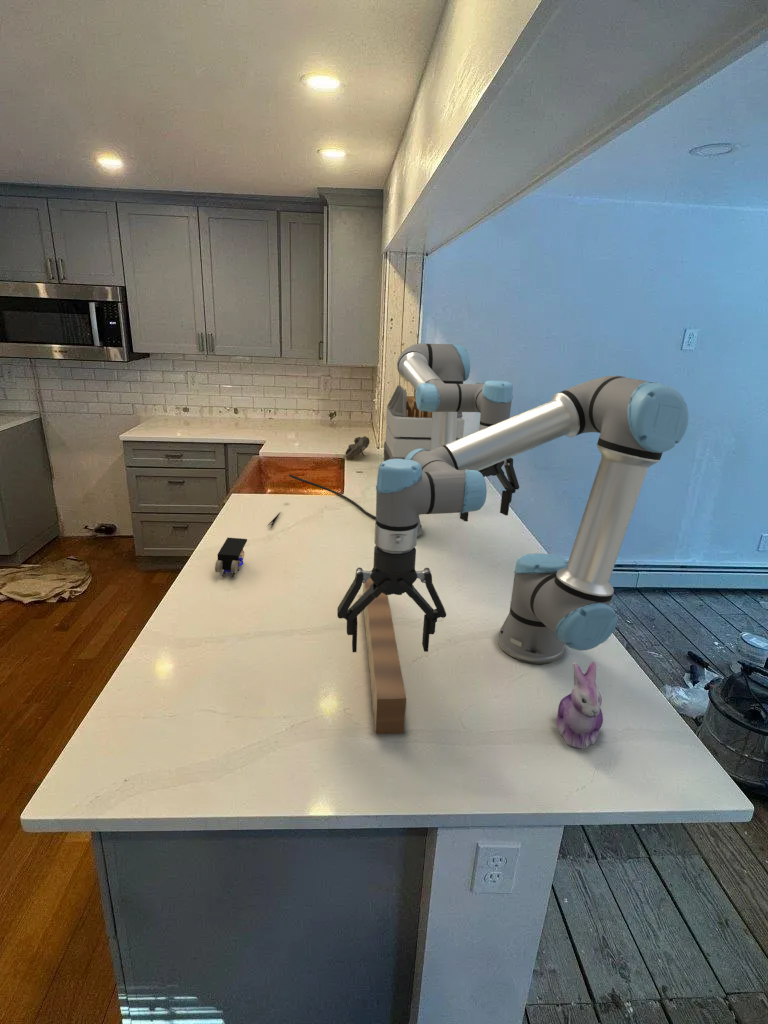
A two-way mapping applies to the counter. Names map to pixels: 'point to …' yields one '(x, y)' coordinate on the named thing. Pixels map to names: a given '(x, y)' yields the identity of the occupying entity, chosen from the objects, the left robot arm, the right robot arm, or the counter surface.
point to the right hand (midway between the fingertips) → (389, 648)
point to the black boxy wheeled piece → (230, 556)
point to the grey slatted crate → (409, 426)
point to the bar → (384, 666)
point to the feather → (273, 520)
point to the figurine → (581, 709)
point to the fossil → (357, 447)
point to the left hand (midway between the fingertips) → (484, 516)
